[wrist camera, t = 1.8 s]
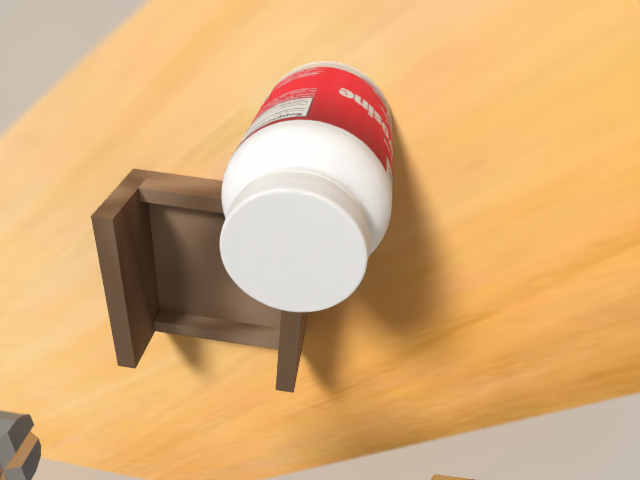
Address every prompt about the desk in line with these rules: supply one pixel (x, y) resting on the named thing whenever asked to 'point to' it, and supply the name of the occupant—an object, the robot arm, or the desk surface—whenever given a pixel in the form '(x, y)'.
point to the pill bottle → (309, 189)
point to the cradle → (180, 273)
